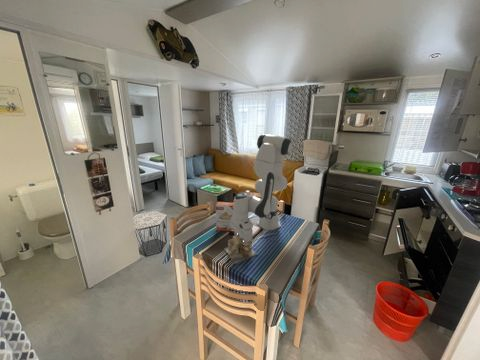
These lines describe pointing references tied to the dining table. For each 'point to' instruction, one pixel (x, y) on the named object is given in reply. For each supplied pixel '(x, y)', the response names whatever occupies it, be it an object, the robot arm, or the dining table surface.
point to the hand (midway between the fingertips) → (240, 240)
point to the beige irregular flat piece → (237, 245)
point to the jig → (241, 253)
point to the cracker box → (224, 216)
